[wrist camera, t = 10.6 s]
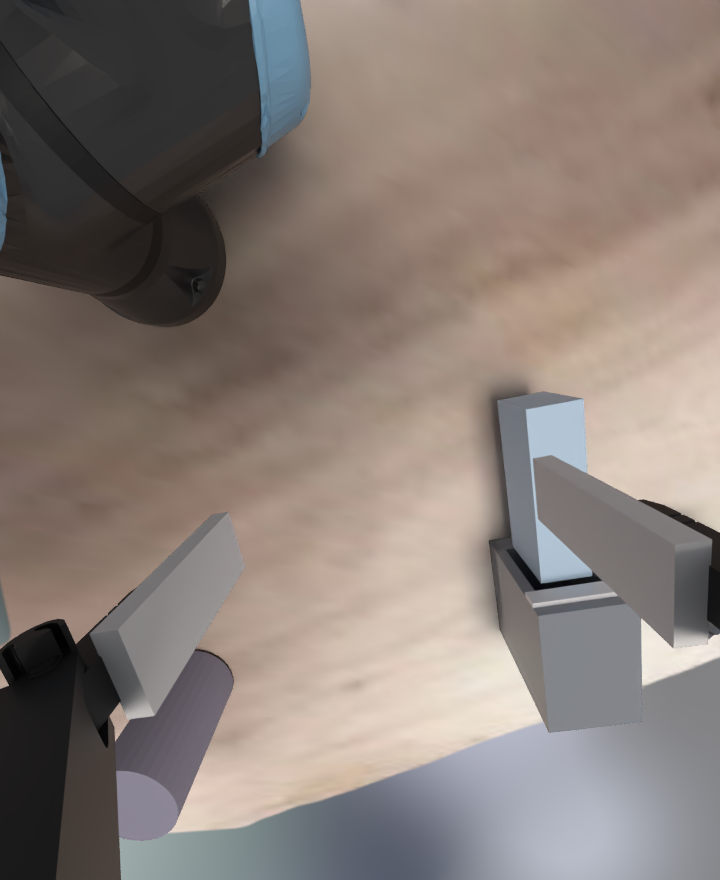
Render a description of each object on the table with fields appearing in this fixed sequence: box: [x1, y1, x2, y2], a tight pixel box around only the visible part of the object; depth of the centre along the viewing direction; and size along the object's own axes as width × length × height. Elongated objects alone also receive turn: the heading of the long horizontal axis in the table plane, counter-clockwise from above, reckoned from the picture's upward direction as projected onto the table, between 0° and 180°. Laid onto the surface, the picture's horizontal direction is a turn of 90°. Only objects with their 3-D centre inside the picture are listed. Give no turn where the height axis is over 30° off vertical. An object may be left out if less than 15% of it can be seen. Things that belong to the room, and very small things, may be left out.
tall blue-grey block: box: [497, 392, 592, 584], centre depth 35 cm, size 18×5×7 cm, turn 11°
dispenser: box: [489, 537, 642, 733], centre depth 38 cm, size 14×9×13 cm, turn 11°
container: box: [115, 651, 233, 841], centre depth 43 cm, size 10×10×15 cm
